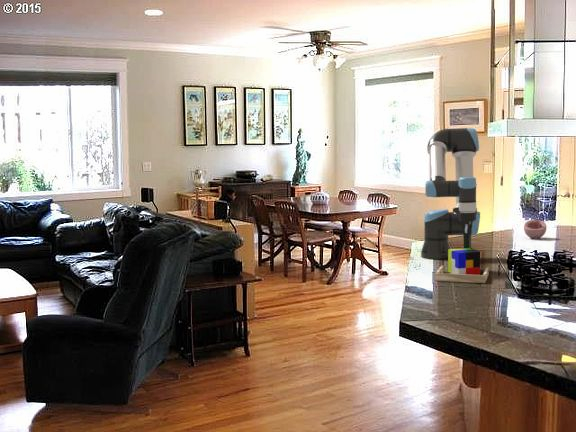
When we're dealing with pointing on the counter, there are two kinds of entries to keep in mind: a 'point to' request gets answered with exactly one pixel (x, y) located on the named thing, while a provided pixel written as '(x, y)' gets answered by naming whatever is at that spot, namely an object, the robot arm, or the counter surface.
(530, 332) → the counter surface
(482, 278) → the tray
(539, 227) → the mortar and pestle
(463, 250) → the puzzle toy
